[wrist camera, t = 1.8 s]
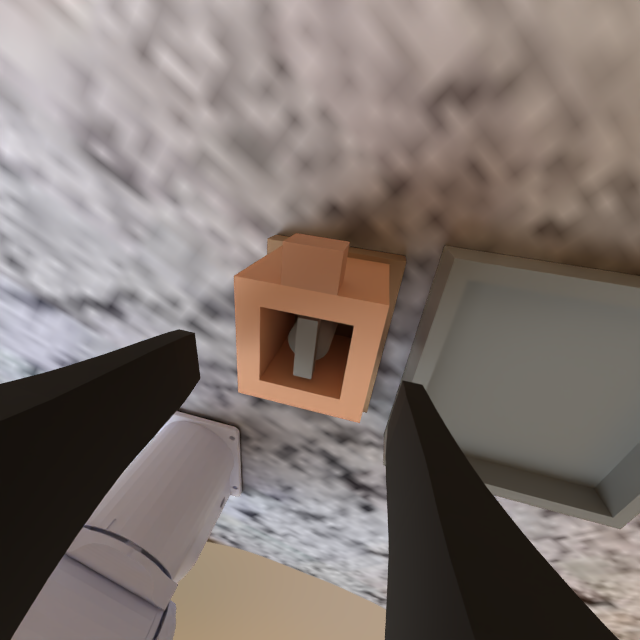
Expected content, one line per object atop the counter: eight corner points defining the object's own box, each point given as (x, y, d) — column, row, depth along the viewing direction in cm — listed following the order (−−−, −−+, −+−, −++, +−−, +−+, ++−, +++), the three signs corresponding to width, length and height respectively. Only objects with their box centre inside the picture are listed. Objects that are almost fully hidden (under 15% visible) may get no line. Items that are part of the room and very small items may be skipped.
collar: (367, 356, 16) (359, 422, 12) (277, 337, 17) (238, 392, 13) (396, 232, 13) (400, 261, 8) (282, 215, 14) (232, 232, 9)
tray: (592, 487, 18) (620, 529, 16) (384, 434, 20) (383, 465, 18) (777, 297, 12) (865, 324, 10) (444, 245, 14) (454, 258, 12)
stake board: (367, 399, 19) (360, 479, 14) (270, 376, 20) (231, 443, 15) (405, 255, 14) (413, 298, 9) (275, 234, 15) (219, 262, 10)
